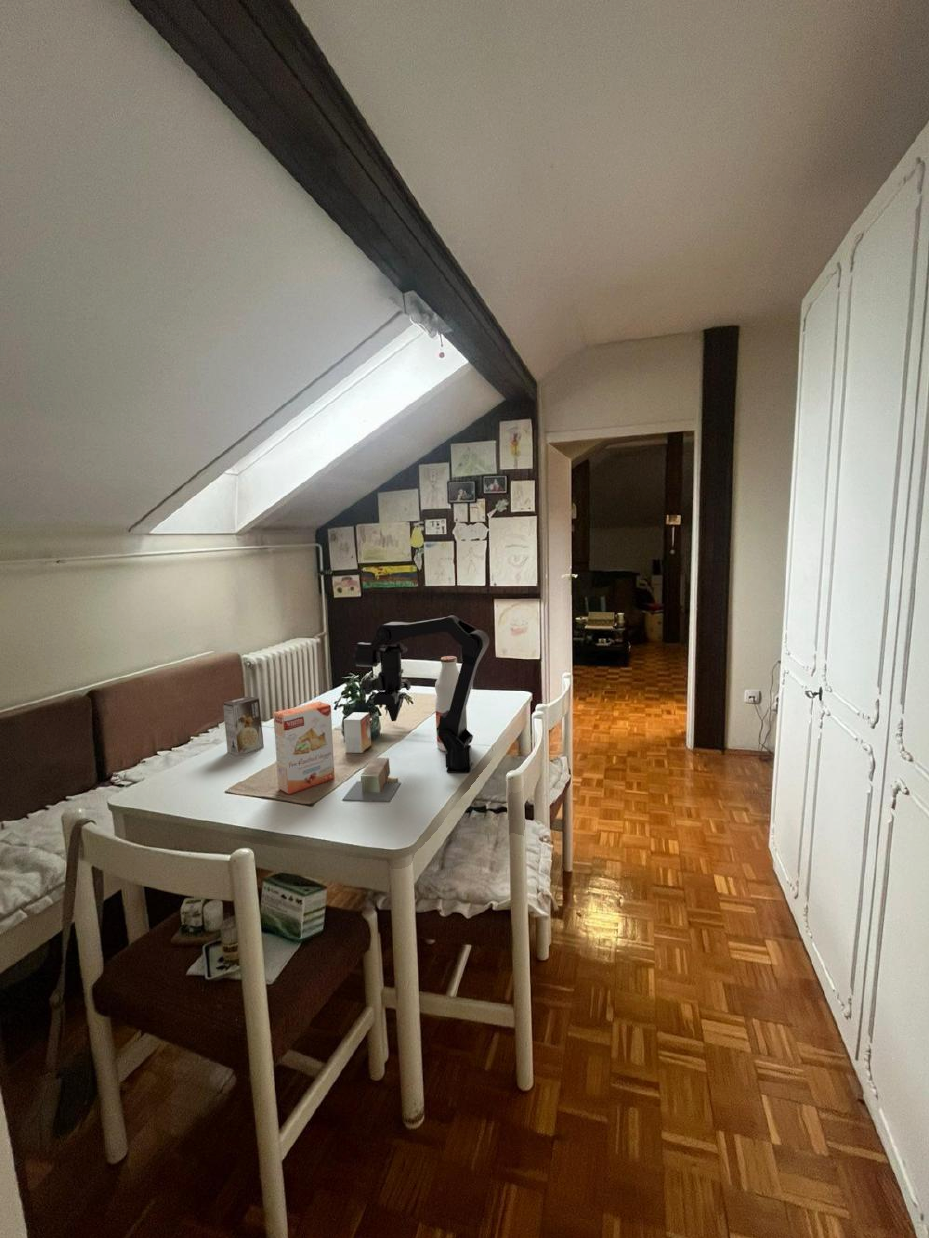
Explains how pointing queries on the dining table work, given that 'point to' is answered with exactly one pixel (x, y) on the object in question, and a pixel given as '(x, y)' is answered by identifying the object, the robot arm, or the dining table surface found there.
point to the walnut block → (375, 775)
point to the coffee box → (243, 725)
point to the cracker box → (303, 746)
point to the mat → (372, 793)
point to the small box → (357, 732)
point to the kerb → (392, 780)
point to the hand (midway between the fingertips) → (393, 720)
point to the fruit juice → (446, 691)
